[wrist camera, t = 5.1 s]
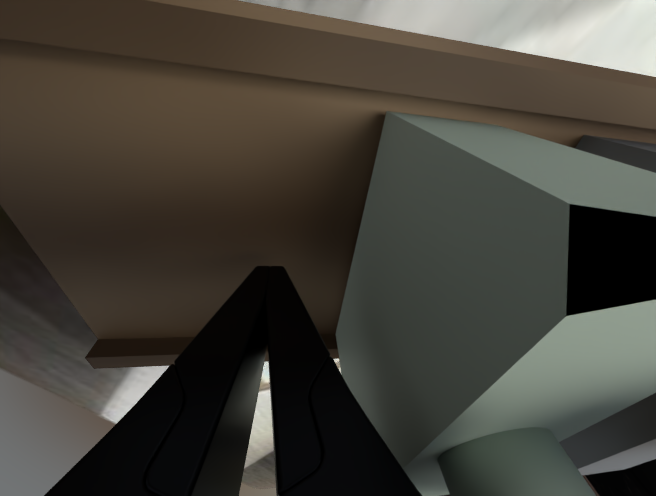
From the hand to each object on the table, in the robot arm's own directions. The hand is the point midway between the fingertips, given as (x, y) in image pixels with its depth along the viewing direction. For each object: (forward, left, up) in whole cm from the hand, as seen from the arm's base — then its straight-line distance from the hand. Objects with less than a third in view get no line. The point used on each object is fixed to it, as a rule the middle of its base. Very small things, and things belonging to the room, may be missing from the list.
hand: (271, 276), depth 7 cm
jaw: (0, -4, -1) cm, 4 cm away
